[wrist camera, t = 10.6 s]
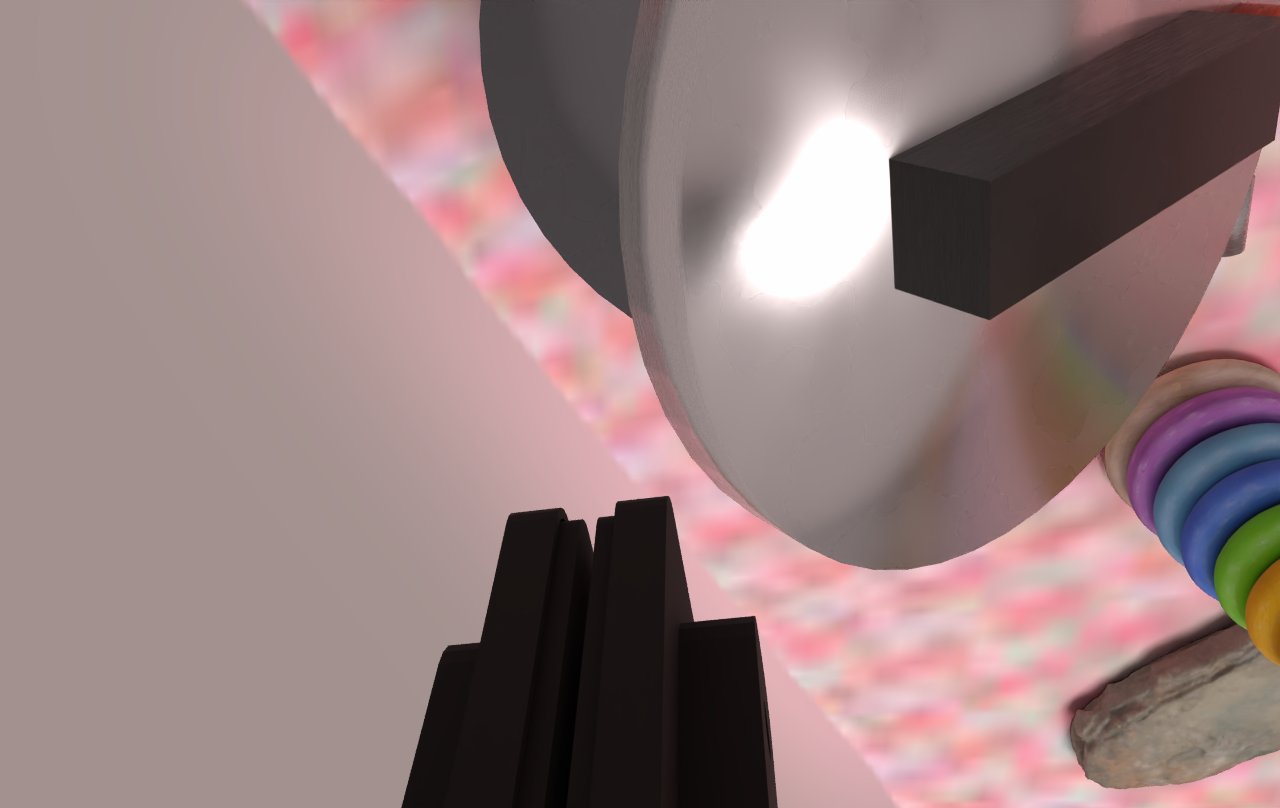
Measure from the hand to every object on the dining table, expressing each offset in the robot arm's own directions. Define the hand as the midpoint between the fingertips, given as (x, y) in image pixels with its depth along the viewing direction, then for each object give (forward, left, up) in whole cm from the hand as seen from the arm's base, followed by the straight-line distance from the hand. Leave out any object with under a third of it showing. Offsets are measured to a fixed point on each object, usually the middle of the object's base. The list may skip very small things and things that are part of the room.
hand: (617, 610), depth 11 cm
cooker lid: (0, +7, -13) cm, 15 cm away
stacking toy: (+21, +20, -30) cm, 42 cm away
